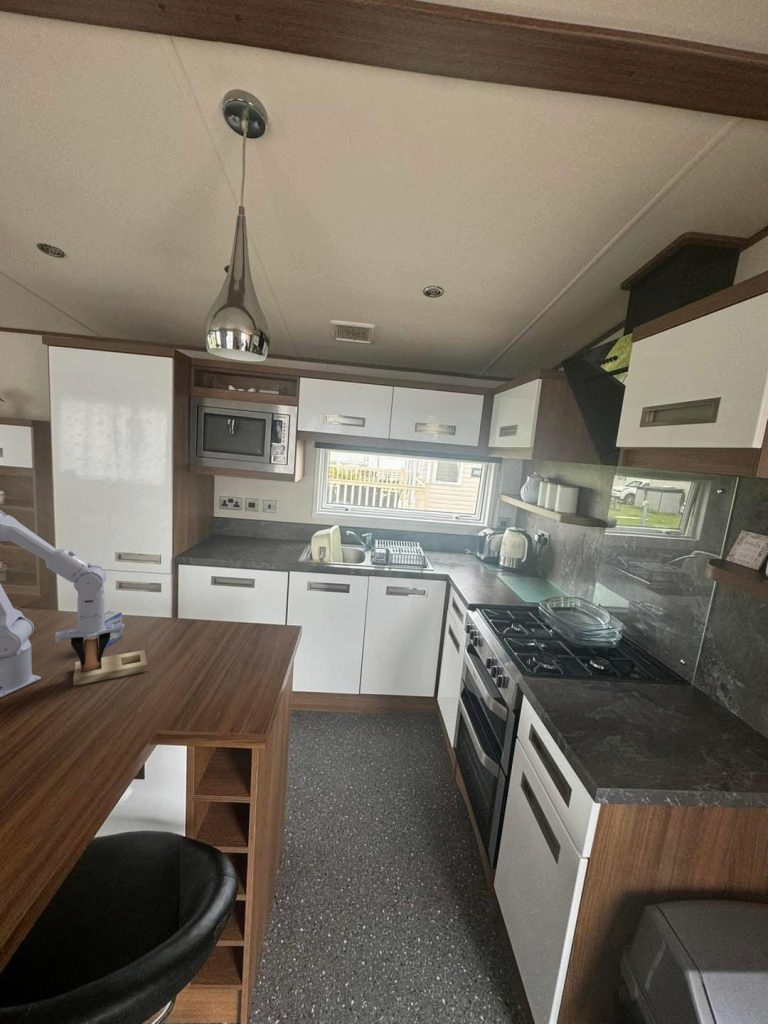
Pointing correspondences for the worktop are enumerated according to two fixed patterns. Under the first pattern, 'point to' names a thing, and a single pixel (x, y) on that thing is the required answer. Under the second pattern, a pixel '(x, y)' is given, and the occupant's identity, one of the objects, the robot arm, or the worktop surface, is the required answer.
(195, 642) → the worktop surface
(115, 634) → the medicine box
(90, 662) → the peg
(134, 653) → the hole block
